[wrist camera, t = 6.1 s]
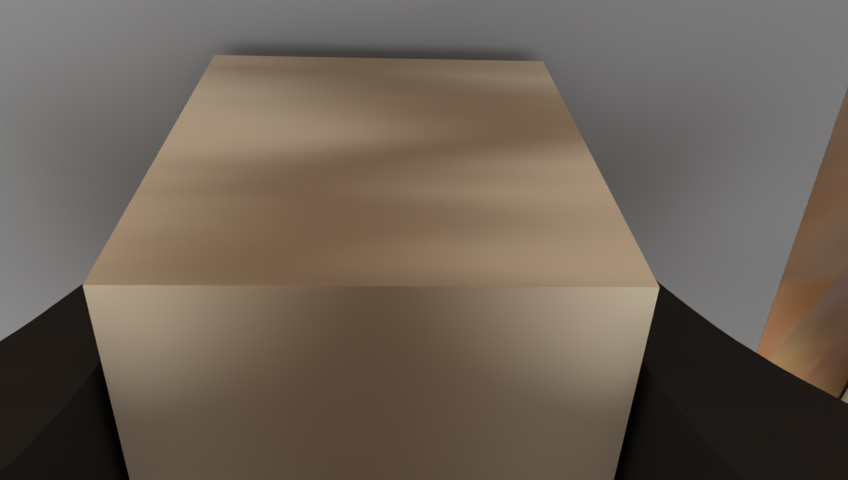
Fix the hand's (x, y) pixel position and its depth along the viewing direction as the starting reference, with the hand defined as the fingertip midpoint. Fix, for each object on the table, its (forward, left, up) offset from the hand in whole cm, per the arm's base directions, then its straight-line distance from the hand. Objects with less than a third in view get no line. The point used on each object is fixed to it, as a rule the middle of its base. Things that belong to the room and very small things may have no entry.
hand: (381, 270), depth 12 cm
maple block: (0, 0, -2) cm, 2 cm away
